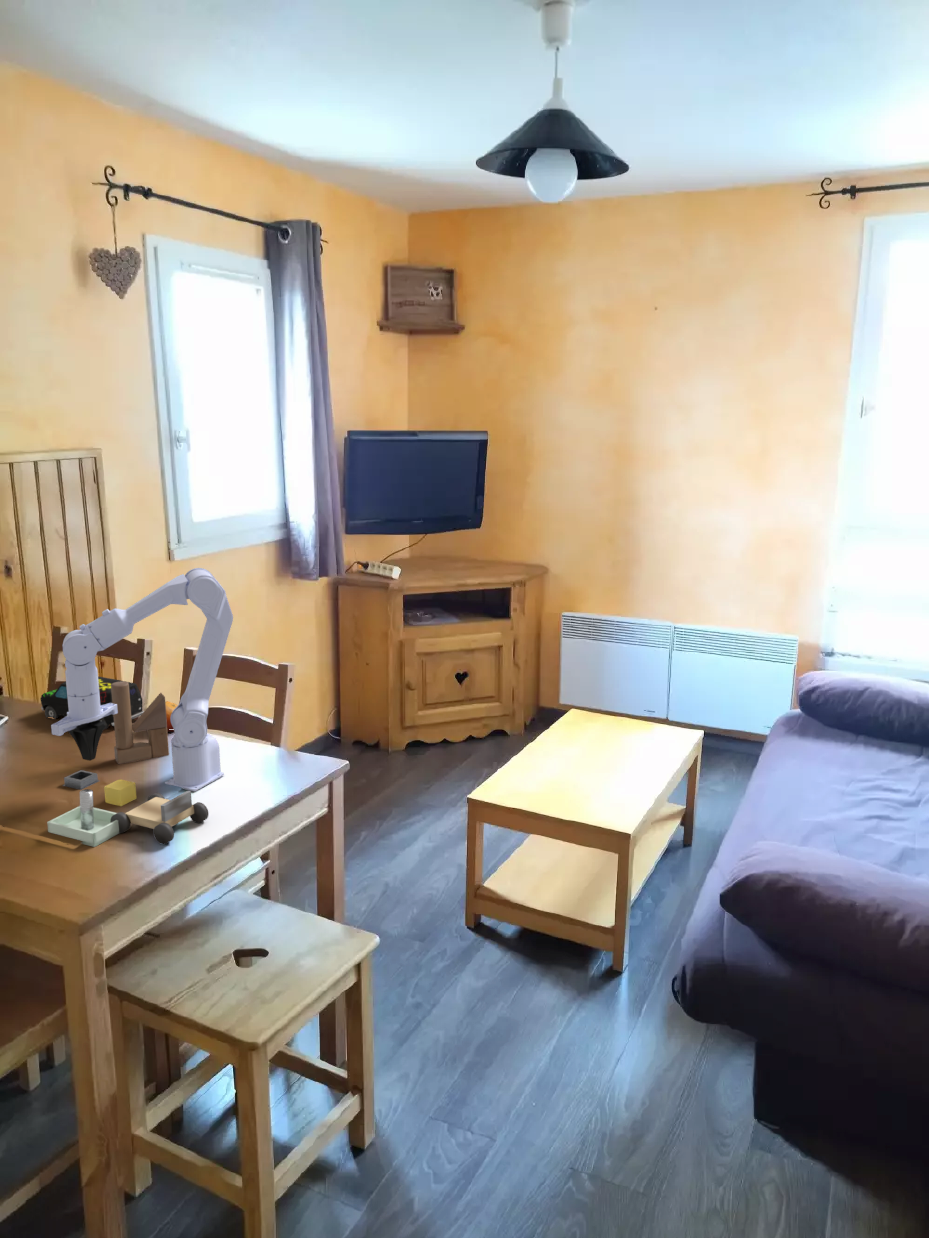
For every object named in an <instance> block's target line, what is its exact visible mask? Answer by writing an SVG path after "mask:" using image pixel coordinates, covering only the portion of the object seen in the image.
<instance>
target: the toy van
mask: <svg viewBox="0 0 929 1238" xmlns="http://www.w3.org/2000/svg"><path fill="white" fill-rule="evenodd" d="M120 681H122V680H120V679H116V678H115V679H114V678H110V677H103V676H98V682H99V694H100V706H101V705H105V704H108V703H112V692H111V684H112V683H115V682H120ZM123 681H124V682H128V683H129V693H130V706H131V719H132V720H134V719H136V718H139V717H140V716H141V715H142V713H143V712H144V711H145V710H143V697H142V695H141V691H140V689H139V686H138V684H137V683H135V682H129V681H125V680H123ZM40 704H41V707H40V708H41V710H42V711H43V712H44V715H45V718H47V717H53V718H55V719H54V720H57V719H56V718H58V717H60V716H63V717H66V716H67V712H69V708H68V697H67V687H66V681H64V682H62V683H61V684H60V685H59V686H58V688H56V689H54V690H53V689H52V690H50V691H47V692H44V693H42V695H41V696H40ZM58 719H59V718H58ZM100 721H102V722H105V729H104V730H108V729H109V727H110V726H112V727H114V716H113V714H111V715H108V716H106V717H103V718H101V719H100Z"/></svg>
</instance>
